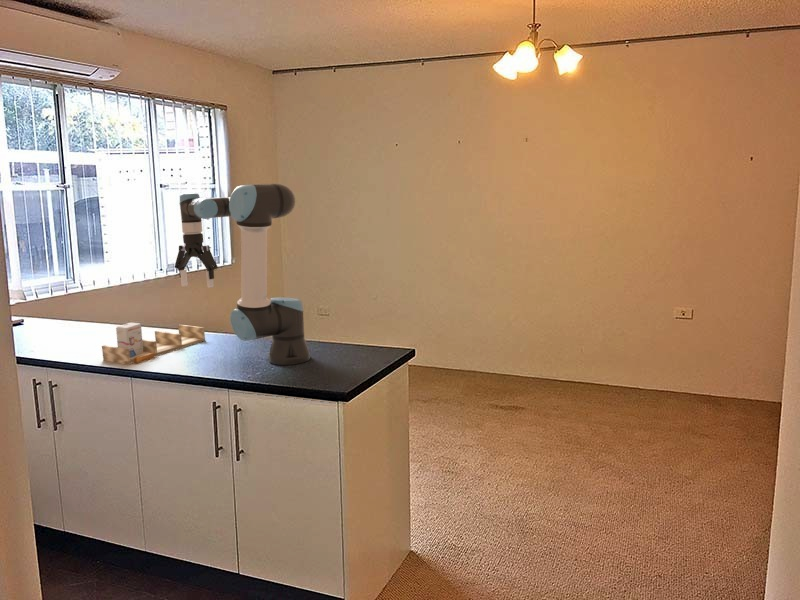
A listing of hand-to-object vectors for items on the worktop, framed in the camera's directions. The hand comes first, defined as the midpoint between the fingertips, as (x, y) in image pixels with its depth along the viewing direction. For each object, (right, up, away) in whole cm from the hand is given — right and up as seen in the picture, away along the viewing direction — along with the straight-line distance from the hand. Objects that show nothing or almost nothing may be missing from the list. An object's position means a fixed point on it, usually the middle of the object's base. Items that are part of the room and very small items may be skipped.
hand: (197, 286), depth 267 cm
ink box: (-22, -26, -10) cm, 36 cm away
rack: (-16, -25, +1) cm, 30 cm away
